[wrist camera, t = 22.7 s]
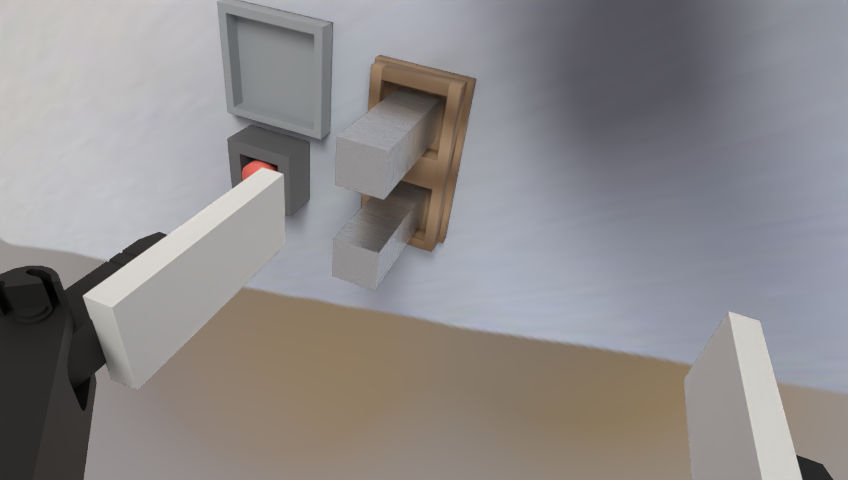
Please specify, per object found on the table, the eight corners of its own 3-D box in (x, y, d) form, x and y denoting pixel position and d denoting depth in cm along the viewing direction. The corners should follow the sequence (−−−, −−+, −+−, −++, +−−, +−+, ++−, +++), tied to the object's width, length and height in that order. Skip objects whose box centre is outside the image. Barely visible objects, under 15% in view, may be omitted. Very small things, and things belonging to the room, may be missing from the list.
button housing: (250, 124, 55) (227, 138, 52) (309, 141, 54) (288, 157, 51) (254, 181, 60) (233, 197, 56) (309, 199, 58) (290, 216, 55)
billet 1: (399, 86, 46) (336, 136, 37) (441, 97, 46) (388, 150, 36) (394, 128, 49) (335, 184, 39) (435, 139, 48) (383, 199, 39)
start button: (249, 154, 54) (240, 160, 53) (280, 163, 53) (271, 169, 52) (251, 184, 56) (243, 190, 55) (281, 193, 55) (273, 200, 54)
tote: (230, -2, 48) (217, 1, 47) (333, 22, 46) (322, 26, 45) (239, 106, 55) (227, 112, 53) (330, 132, 53) (320, 139, 51)
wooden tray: (379, 55, 47) (365, 63, 44) (476, 78, 45) (466, 89, 42) (367, 213, 56) (355, 227, 54) (445, 238, 55) (436, 253, 52)
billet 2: (390, 175, 52) (333, 238, 42) (428, 186, 51) (378, 253, 41) (386, 209, 54) (332, 275, 45) (422, 220, 53) (375, 290, 44)
